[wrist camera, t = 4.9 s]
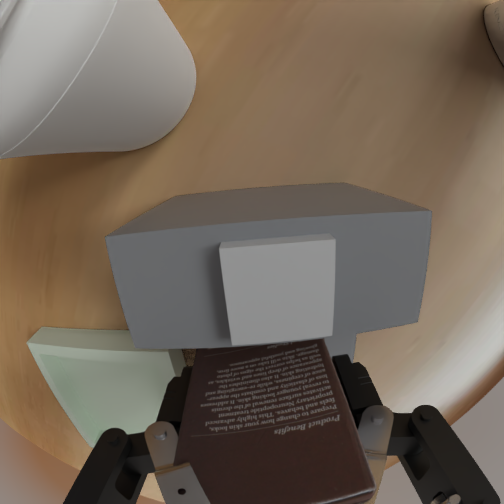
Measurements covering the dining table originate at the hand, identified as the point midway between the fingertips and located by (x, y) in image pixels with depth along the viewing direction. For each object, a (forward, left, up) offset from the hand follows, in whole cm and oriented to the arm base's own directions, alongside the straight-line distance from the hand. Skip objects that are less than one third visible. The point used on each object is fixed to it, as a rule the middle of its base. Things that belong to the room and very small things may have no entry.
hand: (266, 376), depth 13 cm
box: (0, 0, -4) cm, 4 cm away
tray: (+12, +8, -6) cm, 16 cm away
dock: (-1, -2, -6) cm, 6 cm away
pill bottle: (+6, -15, -6) cm, 18 cm away
